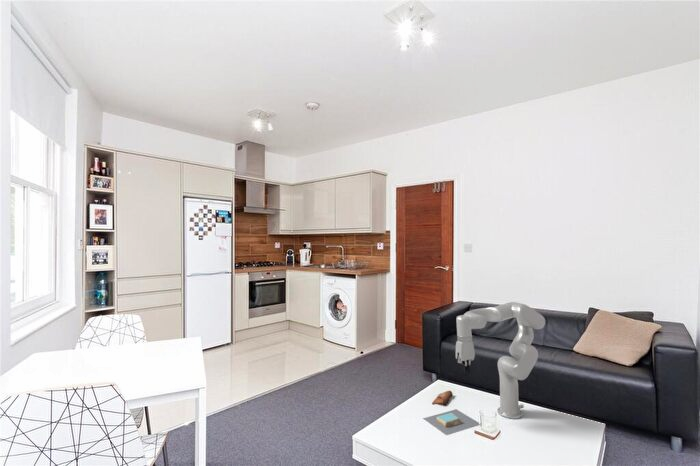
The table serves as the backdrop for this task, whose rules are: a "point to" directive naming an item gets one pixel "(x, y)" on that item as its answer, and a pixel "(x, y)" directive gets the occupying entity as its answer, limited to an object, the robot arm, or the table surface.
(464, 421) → the rubber mat
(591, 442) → the table surface
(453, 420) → the maple tile
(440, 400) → the sunglasses case
